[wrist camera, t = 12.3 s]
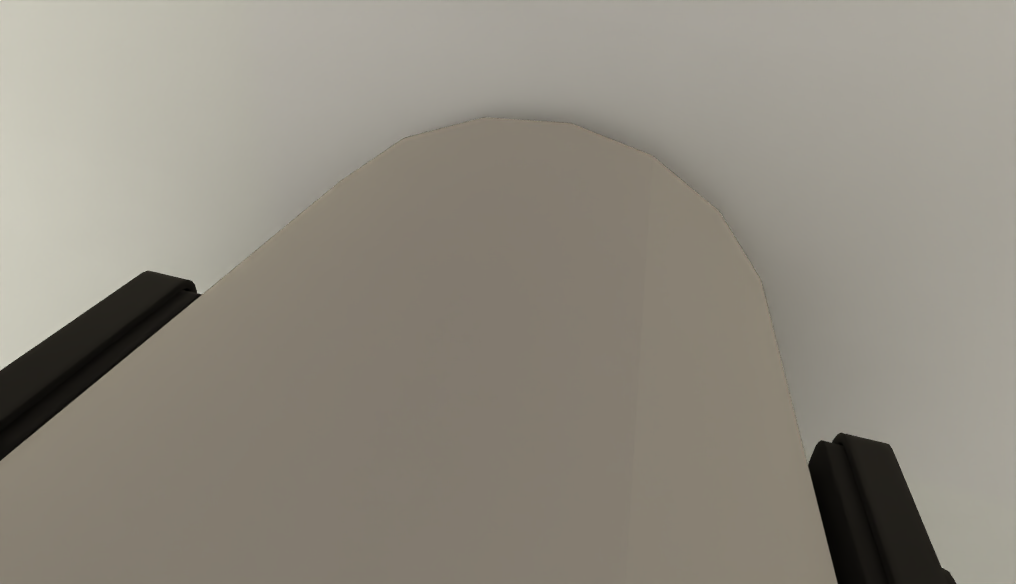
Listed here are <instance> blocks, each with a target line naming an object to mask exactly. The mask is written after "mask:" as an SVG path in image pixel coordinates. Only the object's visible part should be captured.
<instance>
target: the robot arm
mask: <svg viewBox="0 0 1016 584" xmlns="http://www.w3.org/2000/svg"><path fill="white" fill-rule="evenodd" d="M201 295H202V294H197V290H196V287H195V284H194V283H193V282H192V281H190V280H186V279H182V278H178V277H173V276H169V275H165V274H161V273H156V272H152V271H146V272H143V273H141V274H140V275H138V276H137V277H135V278H134V279H133V280H131V281H130V282H128V283H127V284H125V285H124V286H122V287H121V288H120V289H118V290H117V291H115V292H114V293H112V294H111V295H109V296H108V297H106V298H105V299H104V300H102V301H101V302H99V303H98V304H96V305H95V306H93V307H92V308H91V309H89V310H88V311H86V312H85V313H83V314H82V315H80V316H79V317H77V318H76V319H75V320H73V321H72V322H70V323H69V324H67V325H66V326H64V327H63V328H62V329H60V330H59V331H57V332H56V333H54V334H53V335H51V336H50V337H48V338H47V339H46V340H44V341H43V342H41V343H40V344H38V345H37V346H35V347H34V348H33V349H31V350H30V351H28V352H27V353H25V354H24V355H22V356H21V357H19V358H18V359H17V360H15V361H14V362H12V363H11V364H9V365H8V366H6V367H5V368H4V369H2V370H1V371H0V461H1V460H2V459H3V458H5V457H6V456H7V455H8V454H9V453H11V452H12V451H13V450H14V449H15V448H17V447H18V446H19V445H20V444H22V443H23V442H24V441H25V440H26V439H28V438H29V437H30V436H31V435H32V434H34V433H35V432H36V431H37V430H39V429H40V428H41V427H42V426H43V425H45V424H46V423H47V422H48V421H49V420H51V419H52V418H53V417H54V416H56V415H57V414H58V413H59V412H60V411H62V410H63V409H64V408H65V407H66V406H68V405H69V404H70V403H71V402H73V401H74V400H75V399H76V398H77V397H79V396H80V395H81V394H82V393H83V392H85V391H86V390H87V389H88V388H90V387H91V386H92V385H93V384H94V383H96V382H97V381H98V380H99V379H100V378H102V377H103V376H104V375H105V374H107V373H108V372H109V371H110V370H111V369H113V368H114V367H115V366H116V365H117V364H119V363H120V362H121V361H122V360H124V359H125V358H126V357H127V356H128V355H130V354H131V353H132V352H133V351H134V350H136V349H137V348H138V347H139V346H141V345H142V344H143V343H144V342H145V341H147V340H148V339H149V338H150V337H151V336H153V335H154V334H155V333H156V332H158V331H159V330H160V329H161V328H162V327H164V326H165V325H166V324H167V323H168V322H170V321H171V320H172V319H173V318H175V317H176V316H177V315H178V314H179V313H181V312H182V311H183V310H184V309H185V308H187V307H188V306H189V305H190V304H191V303H193V302H194V301H195V300H196V299H198V298H199V297H200V296H201ZM808 468H809V472H810V476H811V480H812V484H813V488H814V492H815V496H816V500H817V504H818V508H819V512H820V516H821V520H822V524H823V528H824V532H825V536H826V540H827V544H828V548H829V551H830V555H831V559H832V563H833V567H834V571H835V575H836V579H837V583H838V584H956V582H955V580H954V579H953V577H952V576H951V574H950V572H948V571H947V570H945V569H943V568H941V565H940V563H939V561H938V558H937V556H936V553H935V551H934V549H933V546H932V544H931V541H930V539H929V537H928V534H927V532H926V529H925V527H924V524H923V522H922V520H921V517H920V515H919V512H918V510H917V508H916V505H915V503H914V500H913V498H912V495H911V493H910V491H909V488H908V486H907V483H906V481H905V479H904V476H903V474H902V471H901V469H900V467H899V464H898V462H897V459H896V457H895V454H894V452H893V450H892V448H891V446H890V445H889V444H886V443H882V442H878V441H874V440H869V439H865V438H861V437H857V436H852V435H848V434H844V433H840V434H838V435H837V436H836V437H835V438H834V440H833V442H832V443H831V442H826V441H822V440H821V441H820V442H818V444H817V445H816V447H815V449H814V451H813V453H812V456H811V459H810V461H809V464H808Z"/></svg>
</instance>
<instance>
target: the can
mask: <svg viewBox="0 0 1016 584" xmlns="http://www.w3.org/2000/svg"><path fill="white" fill-rule="evenodd" d="M0 584H838V583H837V579H836V575H835V571H834V567H833V563H832V559H831V555H830V551H829V548H828V544H827V540H826V536H825V532H824V528H823V524H822V520H821V516H820V512H819V508H818V504H817V500H816V496H815V492H814V488H813V484H812V480H811V476H810V472H809V468H808V464H807V460H806V456H805V452H804V448H803V444H802V440H801V436H800V432H799V428H798V424H797V420H796V416H795V412H794V408H793V404H792V400H791V396H790V392H789V388H788V384H787V381H786V377H785V373H784V369H783V365H782V361H781V357H780V353H779V349H778V345H777V341H776V337H775V333H774V329H773V325H772V321H771V317H770V313H769V309H768V305H767V301H766V297H765V293H764V289H763V285H762V281H761V279H760V278H759V276H758V274H757V273H756V271H755V269H754V268H753V266H752V264H751V263H750V261H749V259H748V258H747V256H746V255H745V253H744V251H743V250H742V248H741V246H740V245H739V243H738V241H737V240H736V238H735V236H734V235H733V233H732V231H731V230H730V228H729V227H728V225H727V223H726V222H725V220H724V218H723V217H722V215H721V213H720V212H719V211H718V210H717V209H716V208H715V207H714V206H712V205H711V204H710V203H709V202H708V201H706V200H705V199H704V198H703V197H702V196H700V195H699V194H698V193H697V192H696V191H694V190H693V189H692V188H691V187H690V186H688V185H687V184H686V183H685V182H684V181H682V180H681V179H680V178H679V177H678V176H676V175H675V174H674V173H673V172H672V171H670V170H669V169H668V168H667V167H666V166H664V165H663V164H662V163H661V162H660V161H658V160H657V159H656V158H655V157H654V156H652V155H650V154H647V153H645V152H642V151H640V150H637V149H635V148H632V147H630V146H627V145H625V144H622V143H620V142H617V141H615V140H612V139H610V138H607V137H605V136H602V135H600V134H597V133H595V132H592V131H590V130H587V129H585V128H582V127H579V126H577V125H574V124H572V123H564V122H549V121H534V120H519V119H504V118H489V117H483V118H479V119H475V120H471V121H467V122H463V123H459V124H456V125H452V126H448V127H444V128H440V129H436V130H433V131H429V132H425V133H421V134H417V135H413V136H409V137H406V138H403V139H402V140H400V141H399V142H397V143H396V144H394V145H393V146H391V147H390V148H388V149H387V150H385V151H384V152H382V153H381V154H379V155H378V156H376V157H375V158H374V159H372V160H371V161H369V162H368V163H366V164H365V165H363V166H362V167H360V168H359V169H357V170H356V171H354V172H353V173H351V174H350V175H348V176H347V177H345V178H344V179H342V180H341V181H340V182H338V183H337V184H336V185H335V186H334V187H332V188H331V189H330V190H329V191H327V192H326V193H325V194H324V195H323V196H321V197H320V198H319V199H318V200H317V201H315V202H314V203H313V204H312V205H310V206H309V207H308V208H307V209H306V210H304V211H303V212H302V213H301V214H300V215H298V216H297V217H296V218H295V219H293V220H292V221H291V222H290V223H289V224H287V225H286V226H285V227H284V228H283V229H281V230H280V231H279V232H278V233H276V234H275V235H274V236H273V237H272V238H270V239H269V240H268V241H267V242H266V243H264V244H263V245H262V246H261V247H259V248H258V249H257V250H256V251H255V252H253V253H252V254H251V255H250V256H249V257H247V258H246V259H245V260H244V261H242V262H241V263H240V264H239V265H238V266H236V267H235V268H234V269H233V270H232V271H230V272H229V273H228V274H227V275H225V276H224V277H223V278H222V279H221V280H219V281H218V282H217V283H216V284H215V285H213V286H212V287H211V288H210V289H208V290H207V291H206V292H205V293H204V294H202V295H201V296H200V297H199V298H198V299H196V300H195V301H194V302H193V303H191V304H190V305H189V306H188V307H187V308H185V309H184V310H183V311H182V312H181V313H179V314H178V315H177V316H176V317H175V318H173V319H172V320H171V321H170V322H168V323H167V324H166V325H165V326H164V327H162V328H161V329H160V330H159V331H158V332H156V333H155V334H154V335H153V336H151V337H150V338H149V339H148V340H147V341H145V342H144V343H143V344H142V345H141V346H139V347H138V348H137V349H136V350H134V351H133V352H132V353H131V354H130V355H128V356H127V357H126V358H125V359H124V360H122V361H121V362H120V363H119V364H117V365H116V366H115V367H114V368H113V369H111V370H110V371H109V372H108V373H107V374H105V375H104V376H103V377H102V378H100V379H99V380H98V381H97V382H96V383H94V384H93V385H92V386H91V387H90V388H88V389H87V390H86V391H85V392H83V393H82V394H81V395H80V396H79V397H77V398H76V399H75V400H74V401H73V402H71V403H70V404H69V405H68V406H66V407H65V408H64V409H63V410H62V411H60V412H59V413H58V414H57V415H56V416H54V417H53V418H52V419H51V420H49V421H48V422H47V423H46V424H45V425H43V426H42V427H41V428H40V429H39V430H37V431H36V432H35V433H34V434H32V435H31V436H30V437H29V438H28V439H26V440H25V441H24V442H23V443H22V444H20V445H19V446H18V447H17V448H15V449H14V450H13V451H12V452H11V453H9V454H8V455H7V456H6V457H5V458H3V459H2V460H1V461H0Z"/></svg>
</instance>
